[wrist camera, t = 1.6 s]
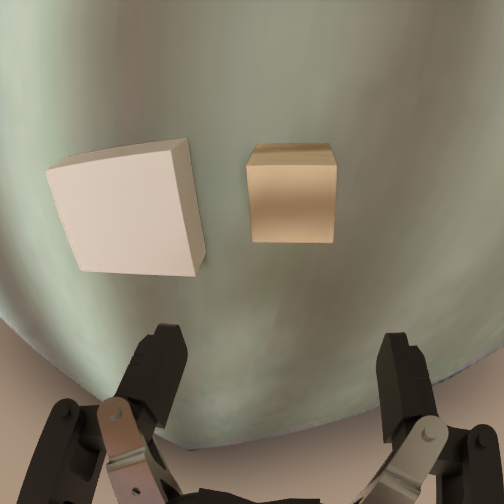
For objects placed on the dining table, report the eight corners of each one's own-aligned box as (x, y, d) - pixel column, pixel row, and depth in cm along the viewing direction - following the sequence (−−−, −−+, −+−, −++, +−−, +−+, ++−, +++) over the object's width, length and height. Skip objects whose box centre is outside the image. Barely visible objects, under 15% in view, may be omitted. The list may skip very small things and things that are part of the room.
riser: (68, 156, 28) (45, 170, 24) (187, 137, 26) (170, 150, 22) (97, 250, 34) (80, 270, 31) (206, 252, 32) (195, 276, 29)
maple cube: (257, 143, 25) (246, 165, 20) (328, 143, 24) (336, 165, 19) (261, 207, 29) (252, 242, 24) (327, 207, 28) (333, 243, 23)
